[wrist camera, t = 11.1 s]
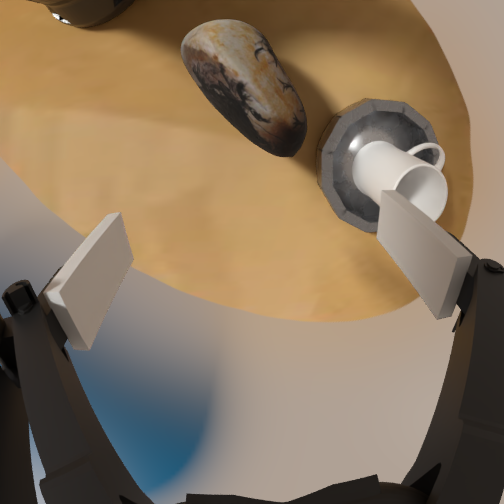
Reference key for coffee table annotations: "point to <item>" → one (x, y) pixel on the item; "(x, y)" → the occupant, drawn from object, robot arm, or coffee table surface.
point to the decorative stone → (246, 84)
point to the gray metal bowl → (357, 136)
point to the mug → (402, 175)
